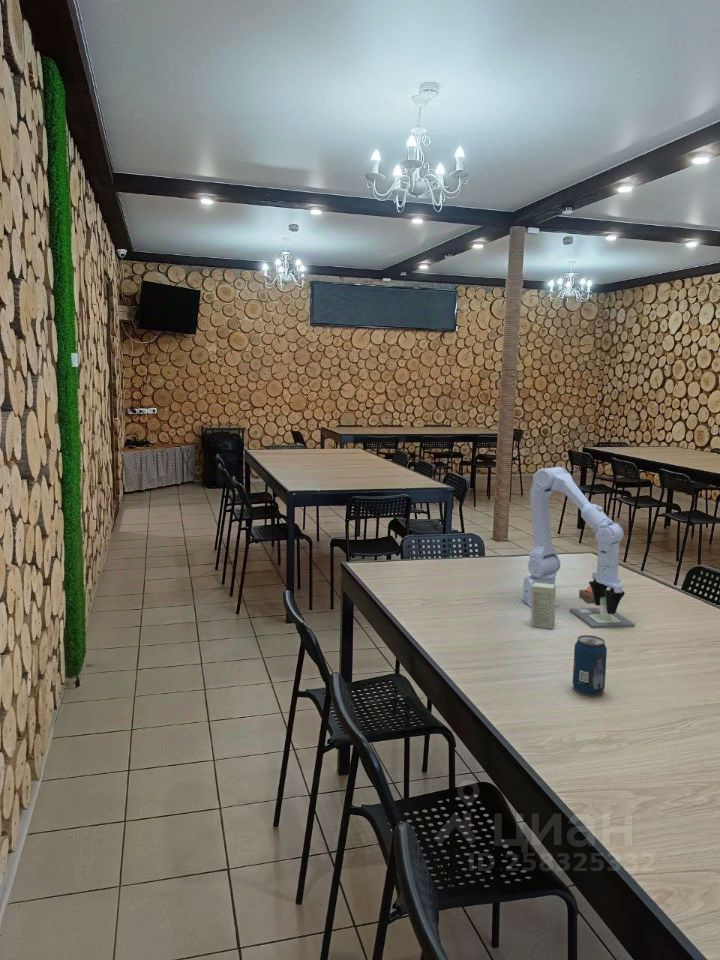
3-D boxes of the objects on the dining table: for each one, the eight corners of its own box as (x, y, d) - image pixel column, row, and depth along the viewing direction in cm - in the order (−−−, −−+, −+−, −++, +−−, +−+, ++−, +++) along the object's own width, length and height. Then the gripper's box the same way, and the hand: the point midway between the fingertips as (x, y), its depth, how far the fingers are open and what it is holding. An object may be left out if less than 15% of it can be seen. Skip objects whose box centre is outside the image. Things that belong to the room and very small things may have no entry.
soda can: (579, 680, 158) (581, 632, 157) (608, 689, 154) (611, 639, 152) (567, 690, 153) (570, 640, 152) (597, 699, 149) (600, 648, 147)
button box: (587, 603, 217) (588, 595, 217) (579, 597, 223) (579, 589, 223) (606, 602, 218) (607, 595, 217) (597, 596, 224) (597, 589, 224)
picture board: (592, 628, 194) (592, 625, 194) (569, 611, 209) (570, 608, 208) (634, 626, 195) (634, 623, 195) (609, 610, 210) (609, 607, 210)
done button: (590, 598, 218) (590, 589, 218) (585, 595, 222) (585, 586, 221) (600, 598, 219) (601, 589, 218) (595, 594, 222) (595, 586, 222)
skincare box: (554, 624, 196) (557, 584, 195) (552, 629, 192) (554, 588, 191) (532, 621, 199) (534, 581, 197) (529, 626, 195) (531, 585, 193)
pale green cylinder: (602, 620, 198) (603, 600, 197) (596, 616, 201) (598, 597, 200) (612, 619, 199) (613, 600, 198) (606, 615, 202) (608, 596, 201)
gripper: (633, 570, 191) (630, 617, 193) (608, 558, 205) (606, 601, 207) (609, 571, 190) (607, 617, 192) (586, 558, 204) (584, 601, 206)
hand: (605, 609), depth 199 cm, fingers open, 7 cm apart
